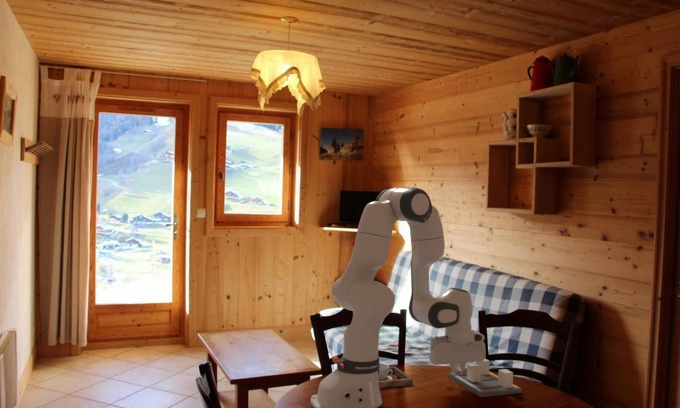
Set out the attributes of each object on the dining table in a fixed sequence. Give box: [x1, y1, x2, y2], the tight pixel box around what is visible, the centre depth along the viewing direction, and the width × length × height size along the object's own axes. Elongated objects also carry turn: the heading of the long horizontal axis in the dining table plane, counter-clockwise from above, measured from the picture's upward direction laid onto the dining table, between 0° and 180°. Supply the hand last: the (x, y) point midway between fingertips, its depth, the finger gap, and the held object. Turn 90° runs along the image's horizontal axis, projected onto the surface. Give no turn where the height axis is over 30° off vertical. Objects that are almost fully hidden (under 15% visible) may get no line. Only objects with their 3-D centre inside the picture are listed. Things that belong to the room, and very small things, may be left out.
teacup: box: [378, 362, 394, 381], centre depth 196 cm, size 10×10×5 cm
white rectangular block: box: [466, 363, 481, 382], centre depth 191 cm, size 3×4×5 cm
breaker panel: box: [447, 358, 523, 398], centre depth 192 cm, size 16×21×7 cm
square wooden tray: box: [379, 366, 414, 389], centre depth 195 cm, size 15×15×2 cm
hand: (457, 375), depth 189 cm, fingers closed
